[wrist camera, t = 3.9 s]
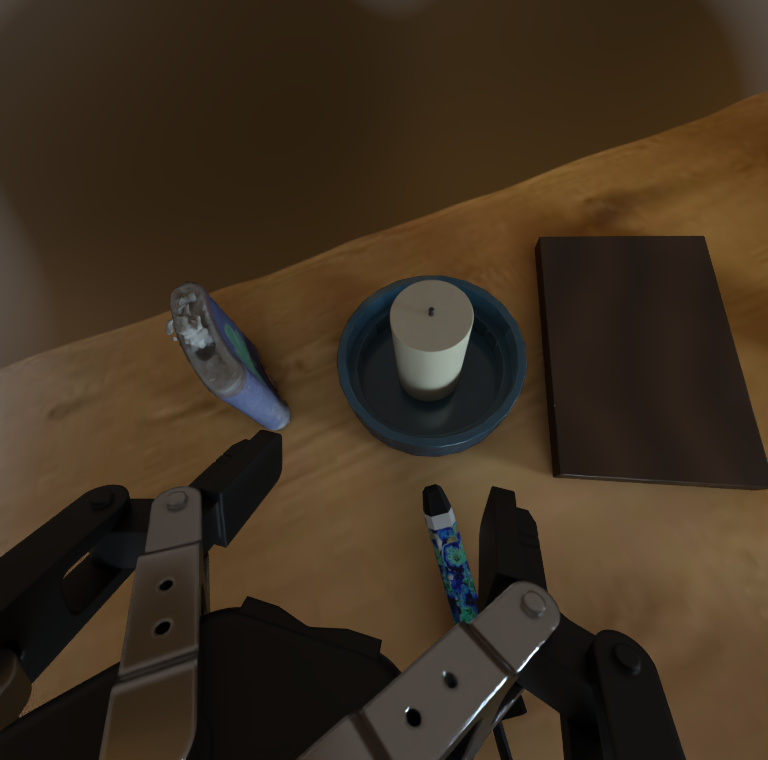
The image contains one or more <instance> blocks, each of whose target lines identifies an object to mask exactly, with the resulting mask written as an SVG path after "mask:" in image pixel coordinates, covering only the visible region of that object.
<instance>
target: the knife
mask: <svg viewBox="0 0 768 760" xmlns="http://www.w3.org/2000/svg"><path fill="white" fill-rule="evenodd" d="M422 493H423V511H424V515H425V521H426V524H427V526H428V529H429V533H430V540H431V542H432V544H433V548H434V551H435V555H436V558H437V562H438V566H439V569H440V573H441V577H442V580H443V584H444V588H445V591H446V595H447V599H448V602H449V606H450V609H451V611H450V612H451V616H452V619H453V621H454V624H455V625H456V624H457V623H459V622H461V621H465V622H466V623H469V622H471V621H472V620H473V619H474V618H475V617H476V616H477V615H478V597H477V593H476V590H475V586H474V583H473V579H472V576H471V573H470V569H469V566H468V562H467V559H466V555H465V552H464V548H463V545H462V541H461V538H460V533H459V530H458V527H457V524H456V520H455V515H454V512H453V510H452V507H451V505H450V503H449V501H448V499H447V497H446V495H445V493H444V491H443V490H442V488H441V487H440V486H439V485H437V484H434V485H431V486H427V487H425V488H424V490H423V492H422ZM526 712H527V710H526V707H525V704H524V701H523V698H522V696H521V695H520V696H519V697H518V699H517V700H516V701H515V702H514V704H513V705H512V706H511V707H510V709H509V710H508V711H507V713H506V714H505V715H504V716H503V718H502V719H501V720H505V719H509V718H512V717H516V716H519V715H523V714H525V713H526ZM501 720H500V721H499V723H498V724H497V725H496V726H495V728H494V729H493V733H494V736H495V740H496V743H497V747H498V750H499V754H500V758H501V760H513V759H512V756H511V752H510V749H509V745H508V742H507V738H506V735H505V732H504V728H503V725H502V721H501Z"/></svg>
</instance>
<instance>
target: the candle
mask: <svg viewBox="0 0 768 760" xmlns="http://www.w3.org/2000/svg"><path fill="white" fill-rule="evenodd" d="M473 320H474V313H473V308H472V305H471V302H470V300H469V299H468V297H467V296H466V295H465V293H464V292H463V291H461V290H460V289H459V288H458V287H456V286H454V285H452V284H450V283H448V282H444V281H439V280H425V281H420V282H417V283H414V284H412V285H410V286H408V287H407V288H405V289H404V290H403V291H402V292H400V293H399V295H398V296H397V297H396V299H395V300H394V302H393V304H392V307H391V310H390V324H391V331H392V337H393V344H394V350H395V357H396V363H397V369H398V376H399V381H400V384H401V386H402V387H403V389H404V390H405V391H406V393H408V394H409V395H410V396H411V397H413V398H415V399H418V400H421V401H427V402H432V401H437V400H440V399H443V398H445V397H446V396H448V395H449V394H450V393H451V392H452V391H453V390H454V389H455V387H456V385H457V383H458V380H459V376H460V372H461V368H462V364H463V360H464V356H465V352H466V348H467V344H468V341H469V337H470V333H471V329H472V325H473Z"/></svg>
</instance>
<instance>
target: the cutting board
mask: <svg viewBox="0 0 768 760" xmlns="http://www.w3.org/2000/svg"><path fill="white" fill-rule="evenodd" d="M535 256H536V269H537V281H538V293H539V306H540V318H541V331H542V343H543V355H544V368H545V380H546V392H547V405H548V417H549V430H550V442H551V454H552V467H553V477H555V478H571V479H587V480H602V481H618V482H633V483H649V484H665V485H680V486H696V487H711V488H727V489H743V490H764V489H768V462H767V459H766V455H765V451H764V448H763V444H762V441H761V437H760V434H759V430H758V426H757V423H756V419H755V416H754V412H753V409H752V405H751V401H750V398H749V394H748V391H747V387H746V384H745V380H744V376H743V373H742V369H741V366H740V362H739V358H738V355H737V351H736V348H735V344H734V341H733V337H732V333H731V330H730V326H729V323H728V319H727V316H726V312H725V308H724V305H723V301H722V298H721V294H720V291H719V287H718V283H717V280H716V276H715V273H714V269H713V266H712V262H711V258H710V255H709V251H708V248H707V244H706V241H705V237H704V236H599V237H539V240H538V242H537V244H536V247H535Z"/></svg>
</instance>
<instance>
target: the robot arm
mask: <svg viewBox="0 0 768 760" xmlns="http://www.w3.org/2000/svg"><path fill="white" fill-rule="evenodd" d="M281 471H282V436H281V434H278V433H274V432H270V431H266V430H260V431H259V432H258V433H257V434H256V435H255V436H254V437H253V438H251V439H250V440H247V439H244V440H242V441H240V442H238V443H236V444H234V445H232V446H231V447H230V448H229V449H228V450H227V451H226V452H225V453H223V455H221V456H220V457H219V458H218V459H217V460H216V462H214V463H213V464H211V465H210V466H209V467H208V468H207V469H206V470H205V471H204V472H203V473H202V474H201V475H200V476H198V477H197V478H196V479H195V480H194V481H193V482H192V483H191V484H190V485H189V486H181V487H175V488H172V489H169V490H167V491H165V492H163V493H161V494H160V495H159V496H157V497H156V499H130V496H129V492H128V490H127V489H126V488H125V487H123V486H120V485H106V486H101V487H98V488H95V489H93V490H90V491H88V492H87V493H85V494H83V495H82V496H81V497H79V498H78V499H77V500H75V501H74V502H73V503H71V504H70V505H69V506H67V507H66V508H65V509H64V510H62V511H61V512H60V513H58V514H57V515H56V516H54V517H53V518H52V519H50V520H49V521H48V522H46V523H45V524H44V525H42V526H41V527H40V528H38V529H37V530H36V531H34V532H33V533H32V534H30V535H29V536H28V537H27V538H25V539H24V540H23V541H21V542H20V543H19V544H17V545H16V546H15V547H13V548H12V549H11V550H9V551H8V552H7V553H5V554H4V555H3V556H1V557H0V760H473V758H474V757H475V755H476V754H477V752H478V751H479V749H480V748H481V746H482V744H483V743H484V741H485V740H486V738H487V737H488V735H489V734H490V733H491V732H492V730H493V729H494V728H495V726H496V725H497V724H498V723H499V721H500V720H501V719H502V718H503V716H504V715H505V714H506V713H507V711H508V710H509V709H510V707H511V706H512V705H513V704H514V702H515V701H516V700H517V699H518V697H519V696H520V695H521V694H522V692H523V691H524V690H525V689H526V690H528V691H529V692H530V693H532V694H533V695H535V696H536V697H538V698H539V699H540V700H542V701H543V702H545V703H546V704H548V705H549V706H550V707H552V708H553V709H555V710H556V711H558V712H559V713H560V720H561V731H562V741H563V751H564V760H686V758H685V755H684V752H683V749H682V746H681V743H680V740H679V737H678V734H677V731H676V727H675V724H674V721H673V718H672V715H671V712H670V709H669V706H668V703H667V700H666V696H665V693H664V690H663V687H662V684H661V681H660V678H659V675H658V672H657V669H656V666H655V664H654V663H653V661H652V659H651V658H650V656H649V655H648V653H647V652H646V651H645V650H644V649H643V648H642V647H641V646H640V645H639V644H638V643H637V642H635V641H634V640H633V639H631V638H630V637H628V636H627V635H625V634H623V633H620V632H618V631H614V630H603V631H600V632H599V633H597V635H596V636H595V635H594V634H592V633H590V632H588V631H587V630H585V629H583V628H582V627H580V626H578V625H577V624H575V623H573V622H572V621H570V620H569V619H568V618H566V617H565V616H564V615H563V614H562V613H561V612H560V611H559V608H558V606H557V604H556V602H555V600H554V599H553V598H552V596H551V595H550V594H549V593H548V591H547V586H546V580H545V574H544V568H543V562H542V556H541V550H540V544H539V539H538V532H537V526H536V522H535V521H534V519H533V518H532V516H531V514H530V513H529V511H528V510H525V509H521V508H517V507H516V499H515V492H514V491H511V490H506V489H502V488H498V487H494V486H492V488H491V490H490V494H489V497H488V500H487V504H486V507H485V510H484V514H483V517H482V521H481V526H480V534H479V586H478V615H477V616H476V617H475V618H474V619H473V620H472V621H471V622H469V623H466V622H465V621H461V622H459V623H457V624H456V625H455V626H454V627H453V628H451V629H450V630H449V631H448V632H447V633H446V634H445V635H444V636H442V637H441V638H440V639H439V640H438V641H437V642H436V643H435V644H434V645H432V646H431V647H430V648H429V649H428V650H427V651H426V652H425V653H423V654H422V655H421V656H420V657H419V658H418V659H417V660H416V661H414V662H413V663H412V664H411V665H410V666H409V667H408V668H407V669H405V670H404V671H403V672H402V673H401V671H400V670H399V669H398V668H397V667H396V666H395V665H394V664H393V663H392V662H391V661H390V660H389V659H388V658H387V657H385V656H384V655H382V654H381V653H380V648H381V642H382V640H380V639H377V638H374V637H371V636H368V635H365V634H362V633H359V632H355V631H352V630H349V629H341V628H319V627H309V626H306V625H305V624H303V623H302V622H300V621H299V620H298V619H296V618H295V617H293V616H292V615H290V614H289V613H288V612H286V611H285V610H283V609H282V608H280V607H279V606H276V605H273V604H270V603H267V602H264V601H261V600H258V599H255V598H252V597H249V596H247V598H246V599H245V601H244V602H243V604H242V606H241V607H233V608H225V609H220V610H217V611H213V612H210V585H209V554H208V551H209V550H210V549H211V548H212V546H213V545H214V544H216V545H219V546H222V547H227V546H228V545H229V543H230V542H231V541H232V540H233V538H234V537H235V536H236V534H237V533H238V532H239V530H240V529H241V528H242V527H243V525H244V524H245V523H246V521H247V520H248V519H249V518H250V516H251V515H252V514H253V512H254V511H255V510H256V508H257V507H258V506H259V505H260V503H261V502H262V501H263V499H264V498H265V497H266V496H267V494H268V493H269V492H270V490H271V489H272V488H273V486H274V485H275V484H276V483H277V481H278V479H279V477H280V475H281ZM88 551H89V555H88V556H87V557H86V558H85V559H84V560H83V561H82V562H81V563H80V564H79V565H77V566H76V567H75V568H74V569H73V570H72V571H71V572H70V573H69V574H68V575H67V576H66V577H65V578H64V579H63V577H64V576H65V574H66V572H67V571H68V570H69V569H70V568H71V567H72V566H73V565H74V564H75V563H76V562H77V561H78V560H79V559H80V558H82V557H83V556H84V555H85V554H86V553H87V552H88ZM135 569H136V571H135V577H134V583H133V589H132V595H131V601H130V607H129V613H128V619H127V625H126V631H125V637H124V643H123V649H122V655H121V661H120V662H118V663H116V664H115V665H113V666H111V667H109V668H108V669H106V670H104V671H102V672H100V673H99V674H97V675H95V676H93V677H91V678H90V679H88V680H86V681H84V682H82V683H81V684H79V685H77V686H75V687H74V688H72V689H70V690H68V691H66V692H65V693H63V694H61V695H59V696H57V697H56V698H54V699H52V700H50V701H49V702H47V703H45V704H43V705H41V706H40V707H38V708H36V709H34V710H32V711H31V712H29V713H27V714H25V715H24V716H22V717H20V718H19V714H20V713H21V712H22V710H23V709H24V707H25V706H26V704H27V702H28V700H29V698H30V695H31V691H32V683H33V682H34V681H35V680H36V679H37V678H38V676H39V675H40V674H41V673H42V672H43V671H44V670H45V669H46V668H47V666H48V665H49V664H50V663H51V662H52V661H53V660H54V659H55V658H56V656H57V655H58V654H59V653H60V652H61V651H62V650H63V649H64V648H65V646H66V645H67V644H68V643H69V642H70V641H71V640H72V639H73V638H74V637H75V635H76V634H77V633H78V632H79V631H80V630H81V629H82V628H83V627H84V625H85V624H86V623H87V622H88V621H89V620H90V619H91V618H92V617H93V615H94V614H95V613H96V612H97V611H98V610H99V609H100V608H101V607H102V605H103V604H104V603H105V602H106V601H107V600H108V599H109V598H110V597H111V595H112V594H113V593H114V592H115V591H116V590H117V589H118V588H119V587H120V585H121V584H122V583H123V582H124V581H125V580H126V579H127V578H128V577H129V576H130V574H131V573H132V572H133V571H134V570H135Z"/></svg>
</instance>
